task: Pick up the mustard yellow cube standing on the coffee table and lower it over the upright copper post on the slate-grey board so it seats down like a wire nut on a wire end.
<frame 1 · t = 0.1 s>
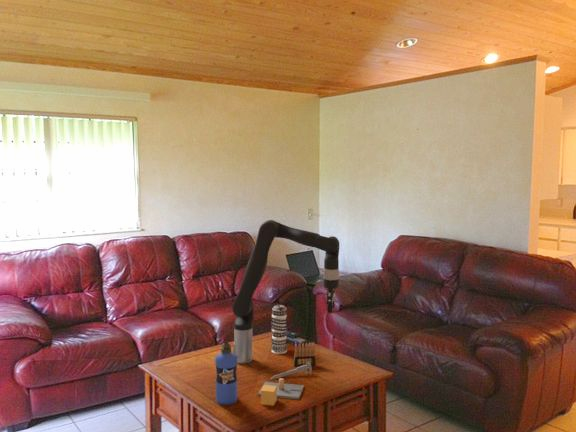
hand: (330, 310, 244), 29 cm above the table, fingers open, 8 cm apart
ammunition clip: (304, 366, 250), on the table
post board: (281, 391, 220), on the table
mustard yellow cube: (268, 401, 210), on the table
decorative candle: (279, 351, 270), on the table
water bottle: (226, 400, 212), on the table
caliper: (291, 377, 237), on the table
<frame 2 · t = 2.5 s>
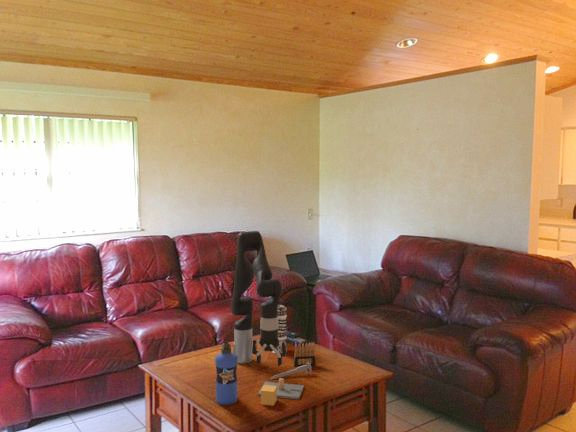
hand: (269, 364, 209), 16 cm above the table, fingers open, 8 cm apart
nothing on the table moved.
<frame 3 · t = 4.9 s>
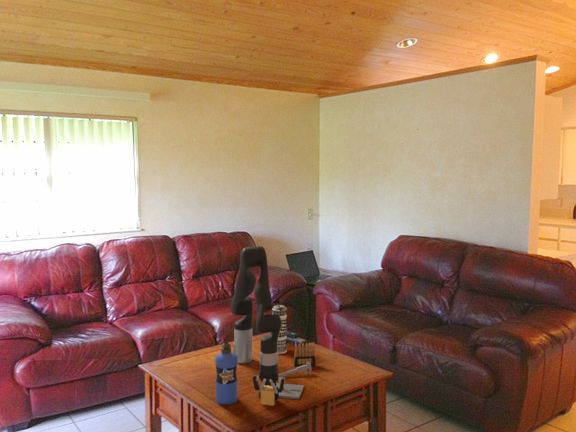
hand: (268, 400, 210), 1 cm above the table, fingers closed on mustard yellow cube, 5 cm apart
mustard yellow cube: (268, 401, 210), on the table, touching gripper
everything else where it was.
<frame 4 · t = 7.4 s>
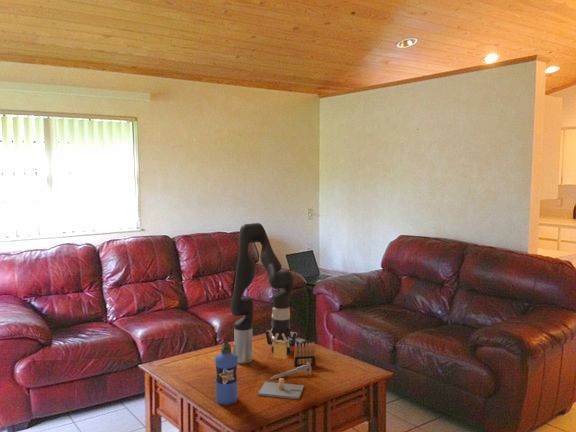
hand: (281, 354, 219), 17 cm above the table, fingers closed on mustard yellow cube, 5 cm apart
mustard yellow cube: (281, 356, 219), point 16 cm above the table, touching gripper
everything else where it was.
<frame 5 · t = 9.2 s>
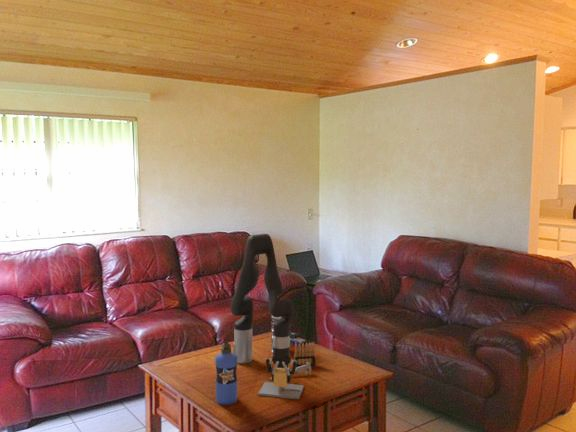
hand: (281, 381, 220), 4 cm above the table, fingers closed on mustard yellow cube, 5 cm apart
mustard yellow cube: (281, 383, 220), point 4 cm above the table, touching gripper
everything else where it was.
when the fingers open (3 cm above the table, at t = 10.3 s): mustard yellow cube drops 1 cm, resting on post board.
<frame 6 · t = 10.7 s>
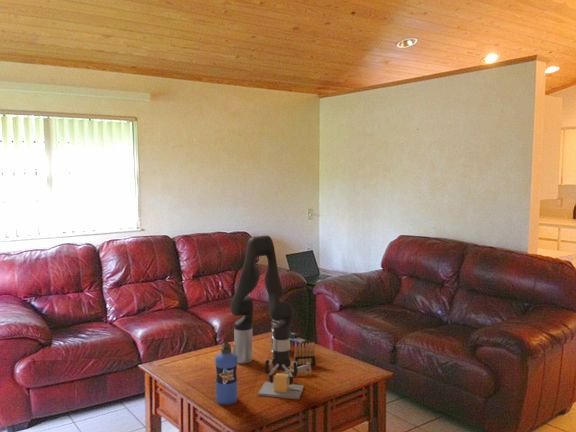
hand: (281, 383, 220), 4 cm above the table, fingers open, 8 cm apart
mustard yellow cube: (281, 389, 220), point 1 cm above the table, touching post board
everything else where it was.
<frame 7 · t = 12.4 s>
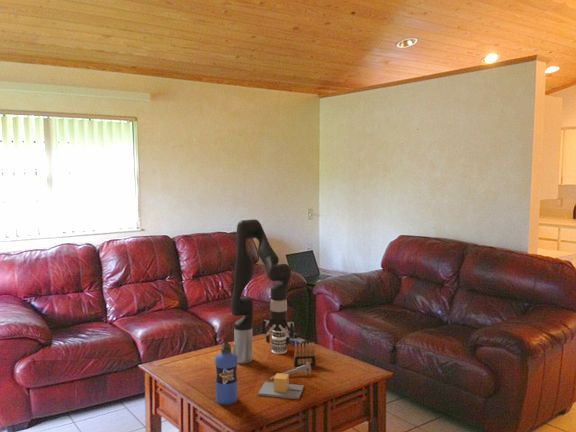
hand: (278, 343, 223), 20 cm above the table, fingers open, 8 cm apart
nothing on the table moved.
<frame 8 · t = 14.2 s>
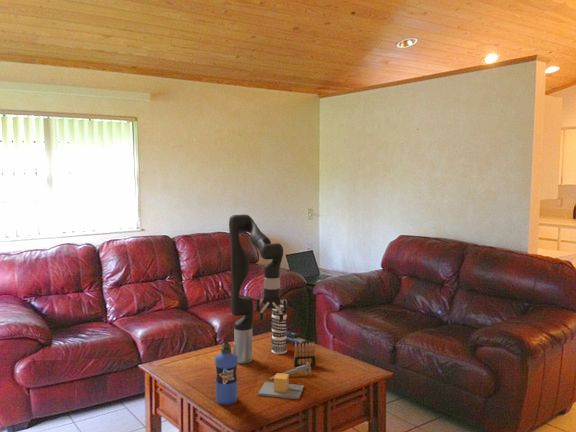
hand: (271, 321, 230), 28 cm above the table, fingers open, 8 cm apart
nothing on the table moved.
at the end: mustard yellow cube 0.0 cm from the post board (horizontally); mustard yellow cube point 1.0 cm above the table; mustard yellow cube tilted 0° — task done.
